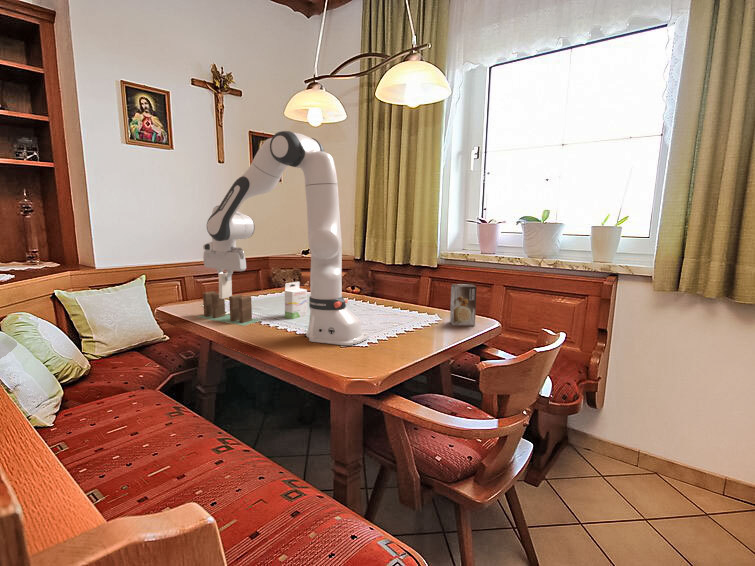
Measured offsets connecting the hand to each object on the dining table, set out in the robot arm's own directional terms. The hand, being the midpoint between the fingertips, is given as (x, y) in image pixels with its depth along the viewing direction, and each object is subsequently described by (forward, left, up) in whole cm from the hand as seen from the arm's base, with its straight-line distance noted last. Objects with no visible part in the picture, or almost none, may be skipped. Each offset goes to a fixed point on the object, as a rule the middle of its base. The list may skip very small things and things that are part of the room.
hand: (225, 280), depth 162 cm
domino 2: (+5, 0, -16) cm, 17 cm away
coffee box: (-87, -42, -16) cm, 98 cm away
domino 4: (-10, 0, -16) cm, 19 cm away
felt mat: (-1, 0, -16) cm, 16 cm away
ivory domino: (0, 0, -7) cm, 7 cm away
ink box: (-22, -17, -16) cm, 32 cm away
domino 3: (-5, 0, -16) cm, 17 cm away
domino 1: (+10, 0, -16) cm, 19 cm away
